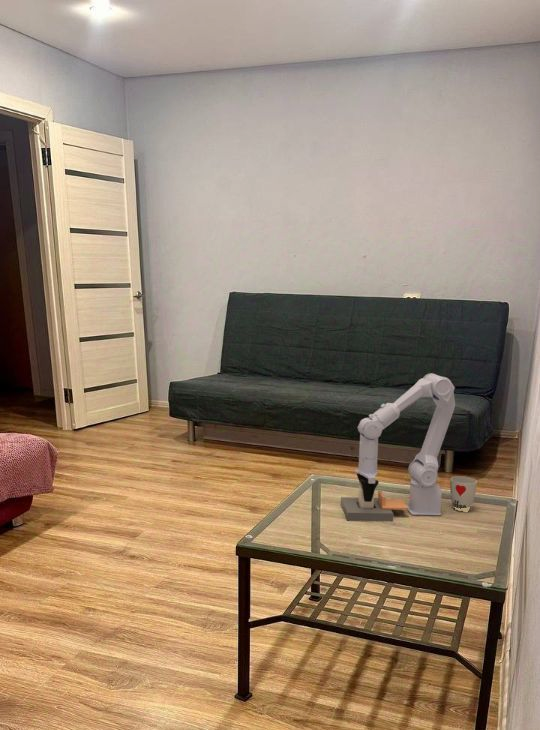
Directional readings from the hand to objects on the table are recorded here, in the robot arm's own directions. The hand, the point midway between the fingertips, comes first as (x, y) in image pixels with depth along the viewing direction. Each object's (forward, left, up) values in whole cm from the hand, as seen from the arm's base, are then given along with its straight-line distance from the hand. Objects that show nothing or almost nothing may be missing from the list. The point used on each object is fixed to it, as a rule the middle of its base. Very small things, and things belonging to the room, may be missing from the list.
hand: (366, 498), depth 187 cm
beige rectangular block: (0, 0, -3) cm, 3 cm away
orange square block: (-8, 0, -2) cm, 9 cm away
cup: (-32, -4, -5) cm, 33 cm away
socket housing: (0, 0, -4) cm, 4 cm away
